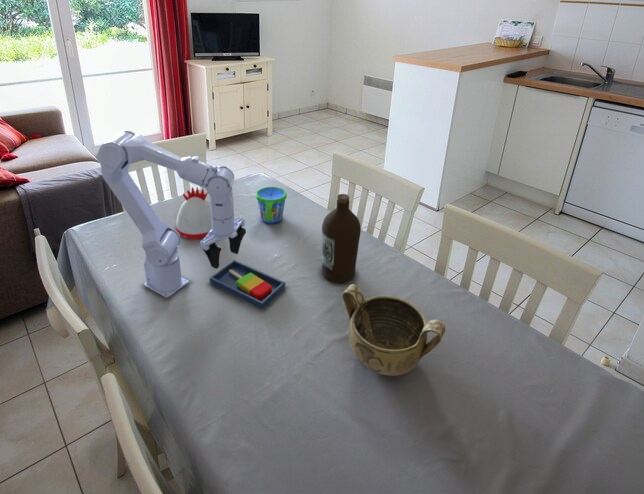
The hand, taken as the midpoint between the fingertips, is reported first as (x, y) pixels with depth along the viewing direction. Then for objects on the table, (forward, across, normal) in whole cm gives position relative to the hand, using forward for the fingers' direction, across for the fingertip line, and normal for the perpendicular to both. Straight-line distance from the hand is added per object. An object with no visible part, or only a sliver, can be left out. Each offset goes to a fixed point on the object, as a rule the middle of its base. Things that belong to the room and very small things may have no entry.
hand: (225, 259), depth 113 cm
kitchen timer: (+10, +18, +29) cm, 35 cm away
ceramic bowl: (+10, +2, -45) cm, 46 cm away
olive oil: (+10, +23, -22) cm, 33 cm away
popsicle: (+9, +4, -4) cm, 11 cm away
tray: (+9, +4, -4) cm, 11 cm away
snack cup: (+10, +37, +12) cm, 40 cm away
